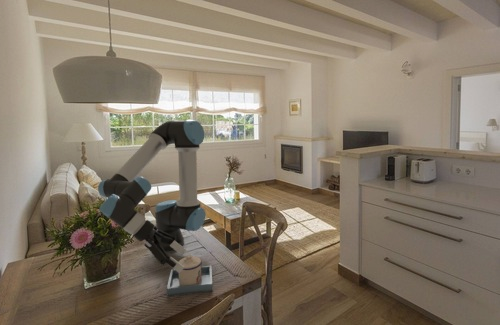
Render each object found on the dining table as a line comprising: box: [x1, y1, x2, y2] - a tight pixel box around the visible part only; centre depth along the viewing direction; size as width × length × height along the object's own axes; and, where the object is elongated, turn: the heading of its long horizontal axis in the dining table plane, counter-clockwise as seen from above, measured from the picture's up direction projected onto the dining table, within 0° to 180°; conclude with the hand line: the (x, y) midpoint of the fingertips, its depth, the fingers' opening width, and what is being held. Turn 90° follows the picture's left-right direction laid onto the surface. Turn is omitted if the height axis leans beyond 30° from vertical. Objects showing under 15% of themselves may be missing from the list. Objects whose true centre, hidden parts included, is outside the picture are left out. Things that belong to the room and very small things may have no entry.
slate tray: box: [166, 265, 213, 297], centre depth 110 cm, size 14×17×3 cm
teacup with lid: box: [178, 254, 202, 286], centre depth 109 cm, size 12×9×12 cm
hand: (183, 260), depth 108 cm, fingers open, 13 cm apart
